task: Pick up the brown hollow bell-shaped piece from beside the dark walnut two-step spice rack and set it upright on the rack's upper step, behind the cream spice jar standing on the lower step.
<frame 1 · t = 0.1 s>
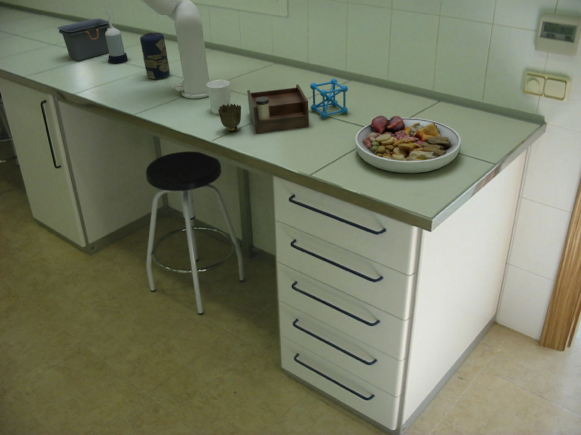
humidifier: (118, 61, 267), on the worktop
white cup: (221, 111, 210), on the worktop
bowl: (406, 154, 174), on the worktop
spice jar: (263, 120, 193), point 3 cm above the worktop, touching spice rack
canister: (159, 77, 246), on the worktop
molecular structure: (329, 112, 204), on the worktop
storage bin: (91, 56, 276), on the worktop
brown hollow bell-shaped piece: (232, 130, 195), on the worktop
spice rack: (278, 120, 199), on the worktop
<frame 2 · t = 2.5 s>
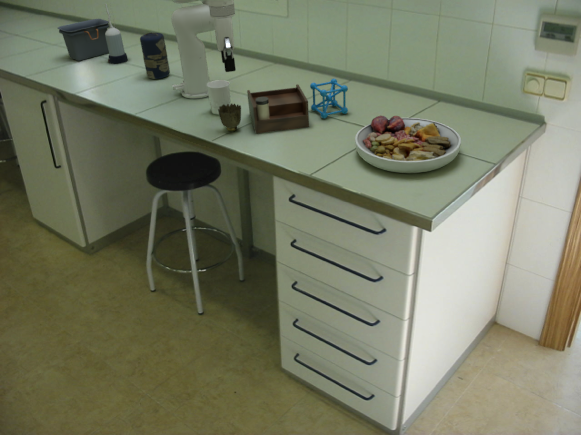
hand: (228, 66, 187), 20 cm above the worktop, tool pointing down, fingers open, 9 cm apart
nothing on the worktop moved.
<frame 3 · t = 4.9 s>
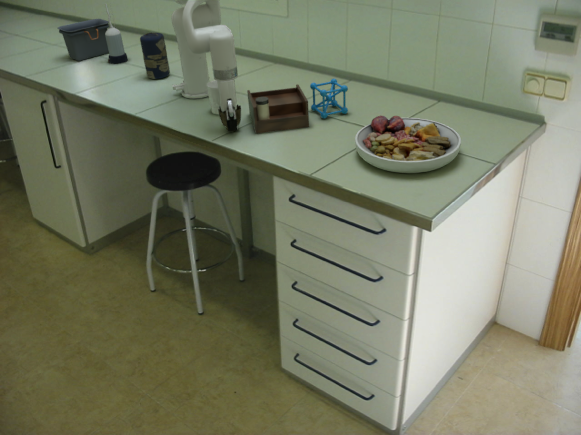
hand: (231, 125, 194), 2 cm above the worktop, tool pointing down, fingers closed on brown hollow bell-shaped piece, 7 cm apart
brown hollow bell-shaped piece: (232, 131, 195), on the worktop, touching gripper
everything else where it was.
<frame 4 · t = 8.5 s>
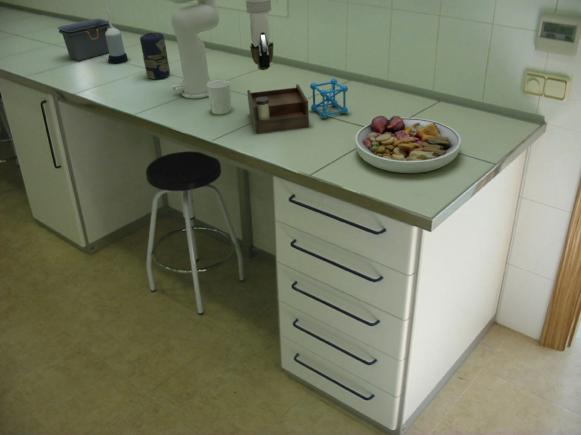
hand: (263, 63, 190), 20 cm above the worktop, tool pointing down, fingers closed on brown hollow bell-shaped piece, 7 cm apart
brown hollow bell-shaped piece: (263, 69, 191), point 18 cm above the worktop, touching gripper
everything else where it was.
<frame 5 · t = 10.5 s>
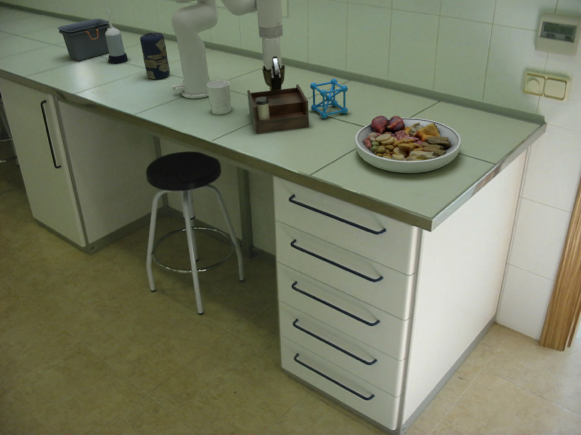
hand: (274, 85, 196), 11 cm above the worktop, tool pointing down, fingers closed on brown hollow bell-shaped piece, 7 cm apart
brown hollow bell-shaped piece: (275, 90, 197), point 9 cm above the worktop, touching gripper
everything else where it was.
when the fingers open (8 cm above the worktop, at t = 11.9 s): brown hollow bell-shaped piece stays where it is, resting on spice rack.
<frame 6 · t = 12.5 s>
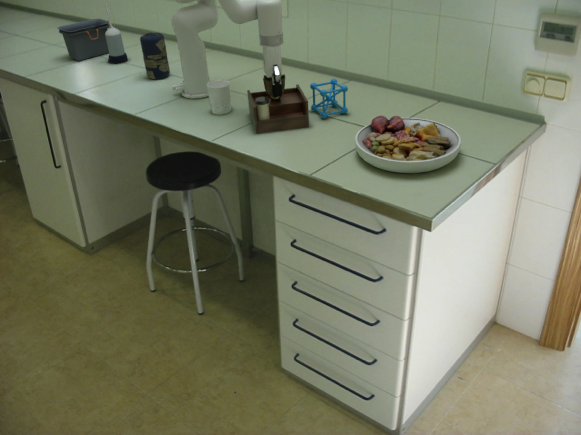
hand: (275, 91, 197), 9 cm above the worktop, tool pointing down, fingers open, 9 cm apart
brown hollow bell-shaped piece: (275, 99, 199), point 6 cm above the worktop, touching spice rack
everything else where it was.
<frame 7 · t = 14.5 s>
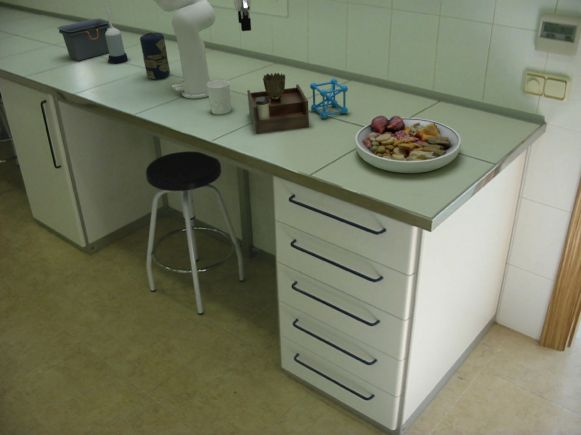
hand: (244, 26, 201), 27 cm above the worktop, tool pointing down, fingers open, 9 cm apart
nothing on the worktop moved.
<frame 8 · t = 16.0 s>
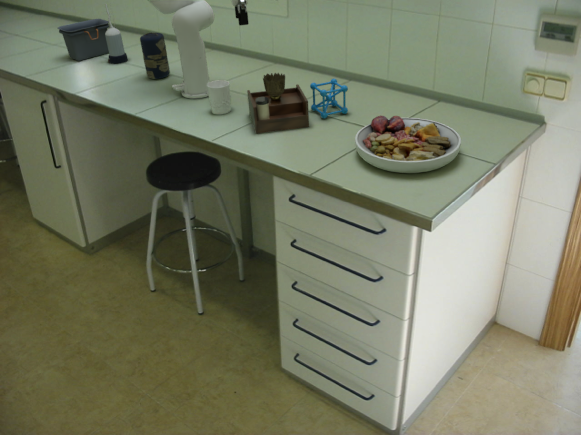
hand: (242, 21, 202), 28 cm above the worktop, tool pointing down, fingers open, 9 cm apart
nothing on the worktop moved.
at the end: brown hollow bell-shaped piece inside the target area on the spice rack (0.1 cm from its centre), point 6.3 cm above the spice rack's base; brown hollow bell-shaped piece tilted 0°; the gripper is holding nothing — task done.
